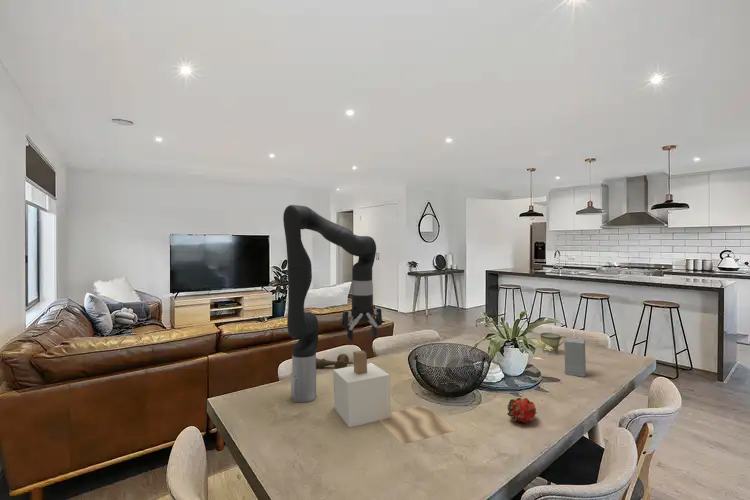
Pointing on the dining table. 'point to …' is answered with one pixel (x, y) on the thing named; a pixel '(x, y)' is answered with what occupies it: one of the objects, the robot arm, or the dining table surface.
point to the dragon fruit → (521, 410)
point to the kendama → (334, 362)
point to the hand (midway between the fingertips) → (362, 338)
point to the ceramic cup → (551, 341)
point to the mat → (415, 424)
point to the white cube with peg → (361, 392)
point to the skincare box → (575, 357)
